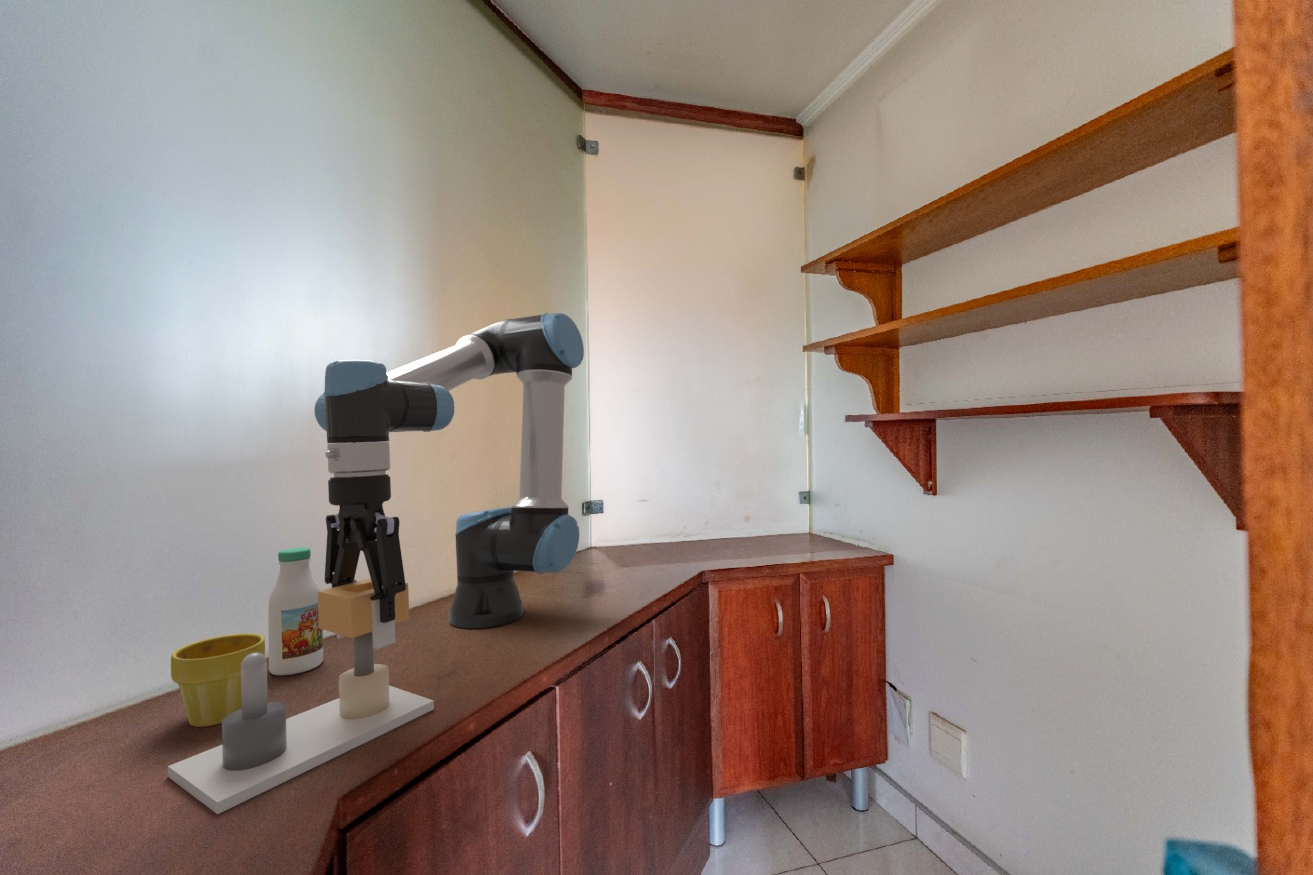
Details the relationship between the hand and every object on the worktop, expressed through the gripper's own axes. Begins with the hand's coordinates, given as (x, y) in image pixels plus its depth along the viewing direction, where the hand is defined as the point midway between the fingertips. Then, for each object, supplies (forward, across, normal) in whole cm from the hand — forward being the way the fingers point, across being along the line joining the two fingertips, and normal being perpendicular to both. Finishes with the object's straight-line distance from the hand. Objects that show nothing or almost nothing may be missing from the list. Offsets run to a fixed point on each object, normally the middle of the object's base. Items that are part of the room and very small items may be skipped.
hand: (365, 639), depth 75 cm
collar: (-2, 0, 0) cm, 2 cm away
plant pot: (+10, -19, -10) cm, 24 cm away
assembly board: (+10, 0, -7) cm, 12 cm away
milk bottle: (+11, -28, +4) cm, 30 cm away
